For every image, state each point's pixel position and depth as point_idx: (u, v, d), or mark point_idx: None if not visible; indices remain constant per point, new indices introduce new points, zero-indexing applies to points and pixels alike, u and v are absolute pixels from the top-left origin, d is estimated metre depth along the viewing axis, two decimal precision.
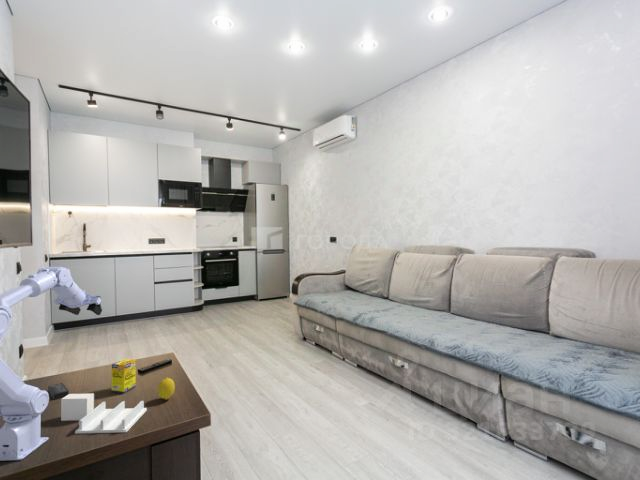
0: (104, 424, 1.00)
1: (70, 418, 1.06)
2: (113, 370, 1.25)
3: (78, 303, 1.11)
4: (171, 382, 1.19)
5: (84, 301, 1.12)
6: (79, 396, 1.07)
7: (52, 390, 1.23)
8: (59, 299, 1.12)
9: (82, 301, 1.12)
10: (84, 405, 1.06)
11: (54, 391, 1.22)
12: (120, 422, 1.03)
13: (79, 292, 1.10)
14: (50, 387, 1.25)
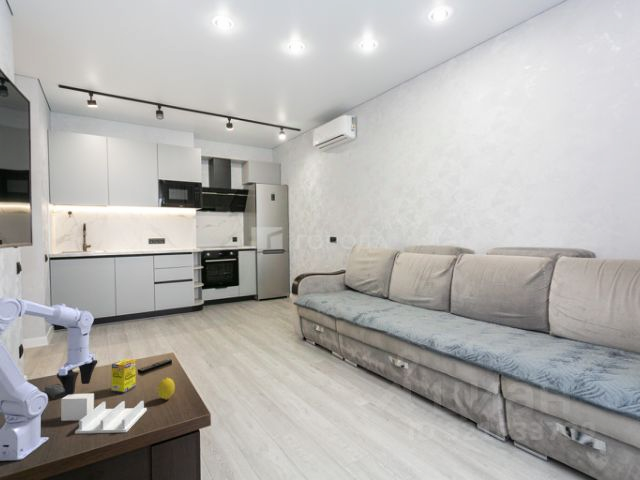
0: (104, 424, 1.00)
1: (70, 418, 1.06)
2: (113, 370, 1.25)
3: (67, 361, 1.06)
4: (171, 382, 1.19)
5: (69, 364, 1.05)
6: (79, 396, 1.07)
7: (51, 391, 1.22)
8: (88, 355, 1.13)
9: (69, 362, 1.05)
10: (84, 405, 1.06)
11: (54, 391, 1.22)
12: (120, 422, 1.03)
13: (73, 351, 1.05)
14: (47, 388, 1.24)
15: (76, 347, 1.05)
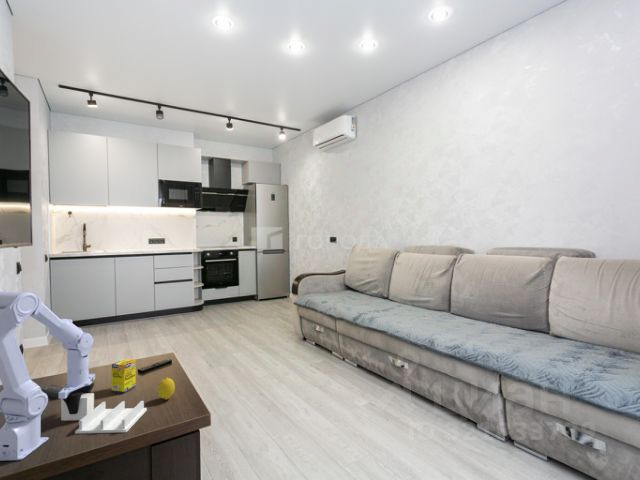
0: (104, 424, 1.00)
1: (70, 418, 1.06)
2: (113, 370, 1.25)
3: (67, 383, 1.06)
4: (171, 382, 1.19)
5: (69, 387, 1.05)
6: None
7: (50, 391, 1.22)
8: (88, 375, 1.13)
9: (68, 385, 1.05)
10: (84, 405, 1.06)
11: (54, 391, 1.22)
12: (120, 422, 1.03)
13: (72, 374, 1.05)
14: (44, 389, 1.23)
15: (76, 369, 1.05)
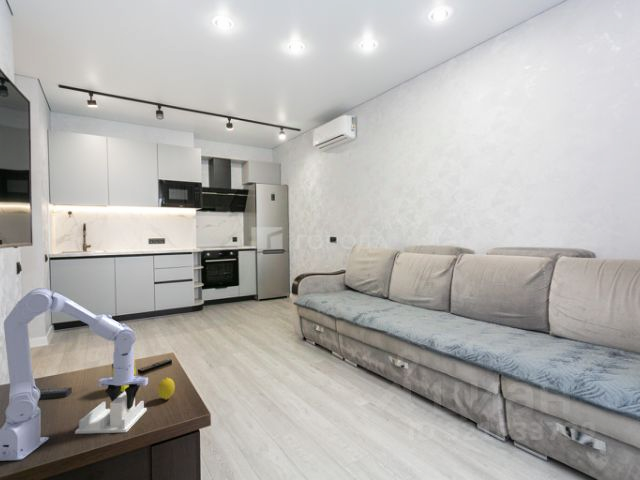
0: (104, 424, 1.00)
1: None
2: None
3: (126, 379, 1.04)
4: (171, 382, 1.19)
5: (131, 380, 1.05)
6: (124, 396, 1.06)
7: (51, 392, 1.21)
8: (105, 380, 1.05)
9: (130, 379, 1.05)
10: None
11: (56, 392, 1.21)
12: None
13: (133, 366, 1.06)
14: None
15: (116, 366, 1.03)
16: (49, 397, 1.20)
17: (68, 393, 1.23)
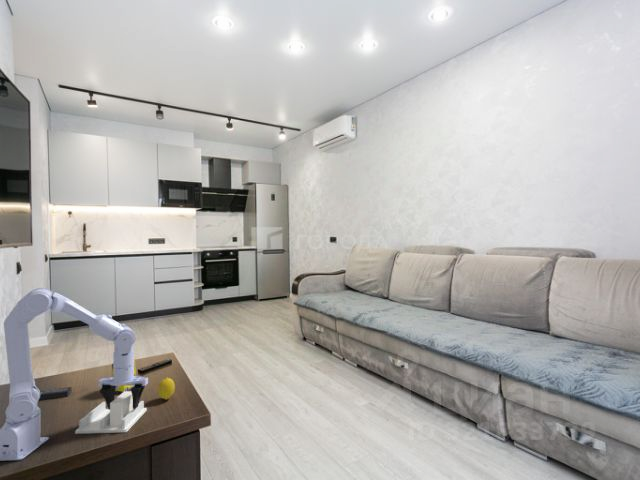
0: (104, 424, 1.00)
1: None
2: None
3: (126, 379, 1.04)
4: (171, 382, 1.19)
5: (131, 380, 1.05)
6: (124, 396, 1.06)
7: (51, 393, 1.21)
8: (105, 380, 1.05)
9: (130, 379, 1.05)
10: None
11: (56, 392, 1.21)
12: None
13: (133, 366, 1.06)
14: None
15: (116, 366, 1.03)
16: (50, 397, 1.20)
17: (69, 392, 1.23)
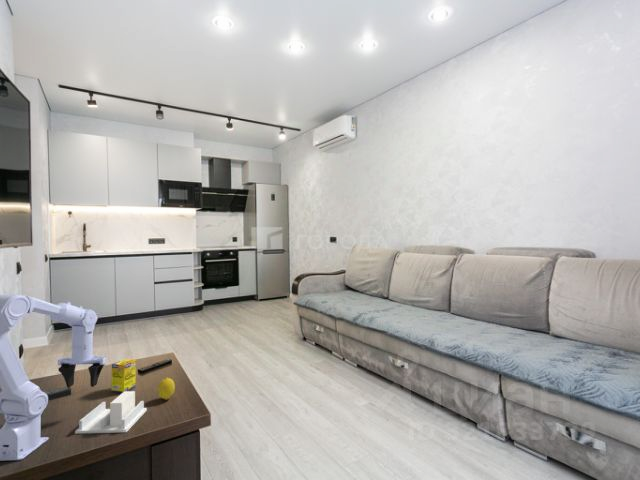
0: (104, 424, 1.00)
1: None
2: (113, 370, 1.25)
3: (84, 358, 1.08)
4: (171, 382, 1.19)
5: (90, 359, 1.09)
6: (124, 396, 1.06)
7: (54, 393, 1.20)
8: (64, 359, 1.09)
9: (88, 358, 1.09)
10: (133, 399, 1.08)
11: (59, 391, 1.22)
12: None
13: (91, 346, 1.10)
14: None
15: (81, 345, 1.07)
16: (53, 397, 1.20)
17: None
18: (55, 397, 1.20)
